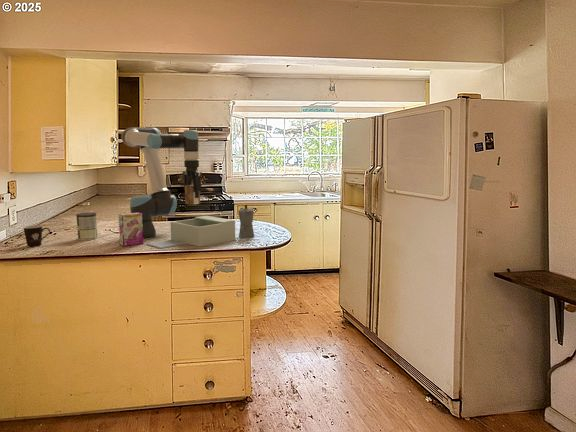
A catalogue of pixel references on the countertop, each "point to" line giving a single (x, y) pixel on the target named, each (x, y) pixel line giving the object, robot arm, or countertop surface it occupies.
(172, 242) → the pad
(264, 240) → the countertop surface
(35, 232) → the coffee mug
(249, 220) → the coffeepot
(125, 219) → the candy bar box
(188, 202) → the walnut block
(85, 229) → the coffee can
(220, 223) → the crate
